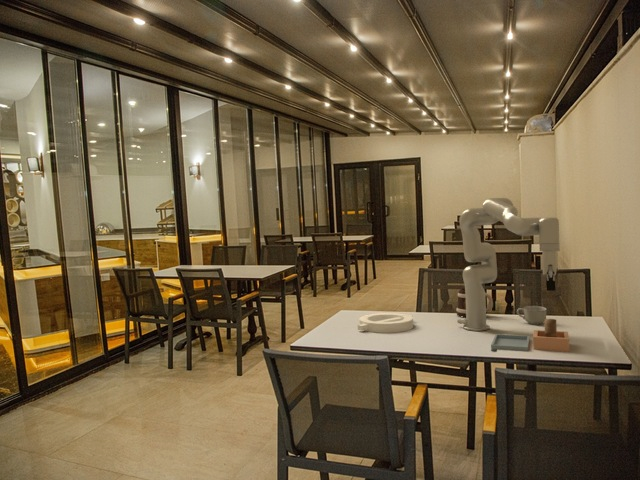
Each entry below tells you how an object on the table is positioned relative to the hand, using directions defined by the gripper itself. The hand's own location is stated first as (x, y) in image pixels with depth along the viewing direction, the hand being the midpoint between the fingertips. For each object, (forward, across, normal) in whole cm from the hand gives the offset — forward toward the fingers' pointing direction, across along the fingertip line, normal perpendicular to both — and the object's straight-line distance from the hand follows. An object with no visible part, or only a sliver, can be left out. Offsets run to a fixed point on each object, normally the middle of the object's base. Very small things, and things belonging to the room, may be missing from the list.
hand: (550, 288), depth 201 cm
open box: (+25, +1, -1) cm, 25 cm away
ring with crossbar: (+25, -25, -79) cm, 86 cm away
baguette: (+24, +1, -1) cm, 24 cm away
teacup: (+25, -49, -8) cm, 56 cm away
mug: (+24, -63, -38) cm, 77 cm away
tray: (+25, +1, -16) cm, 29 cm away
